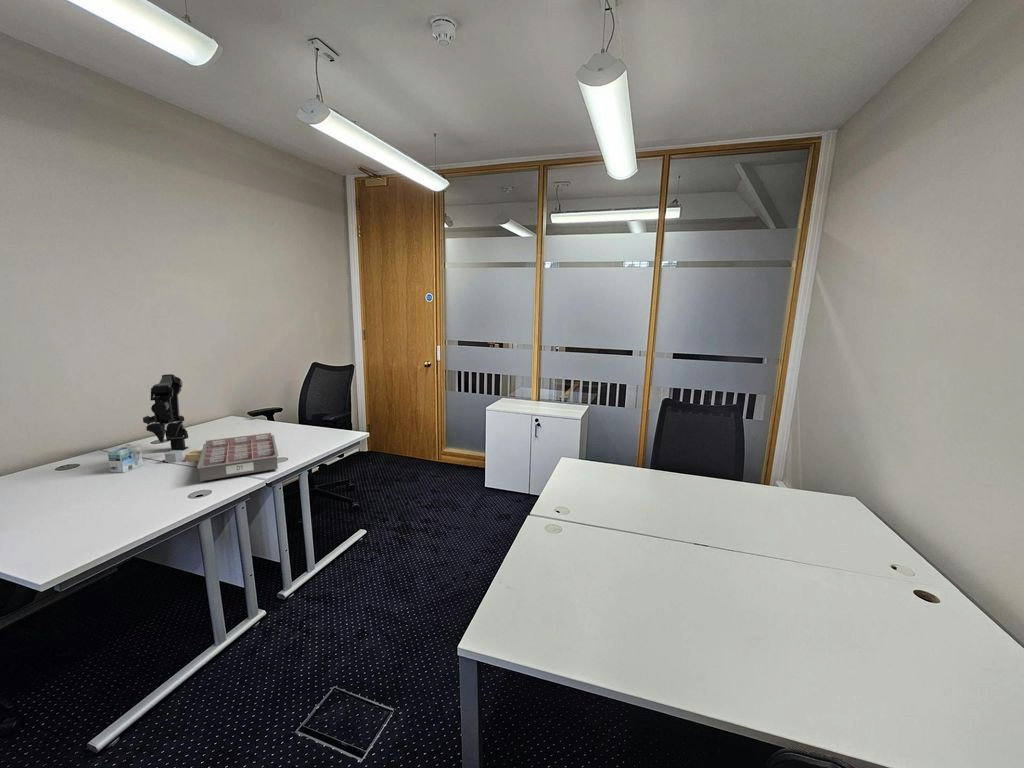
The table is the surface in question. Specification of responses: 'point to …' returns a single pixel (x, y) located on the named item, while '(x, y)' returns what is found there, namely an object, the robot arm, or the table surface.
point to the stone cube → (173, 456)
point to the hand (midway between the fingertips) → (168, 439)
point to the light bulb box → (125, 458)
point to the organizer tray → (237, 456)
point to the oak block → (193, 455)
